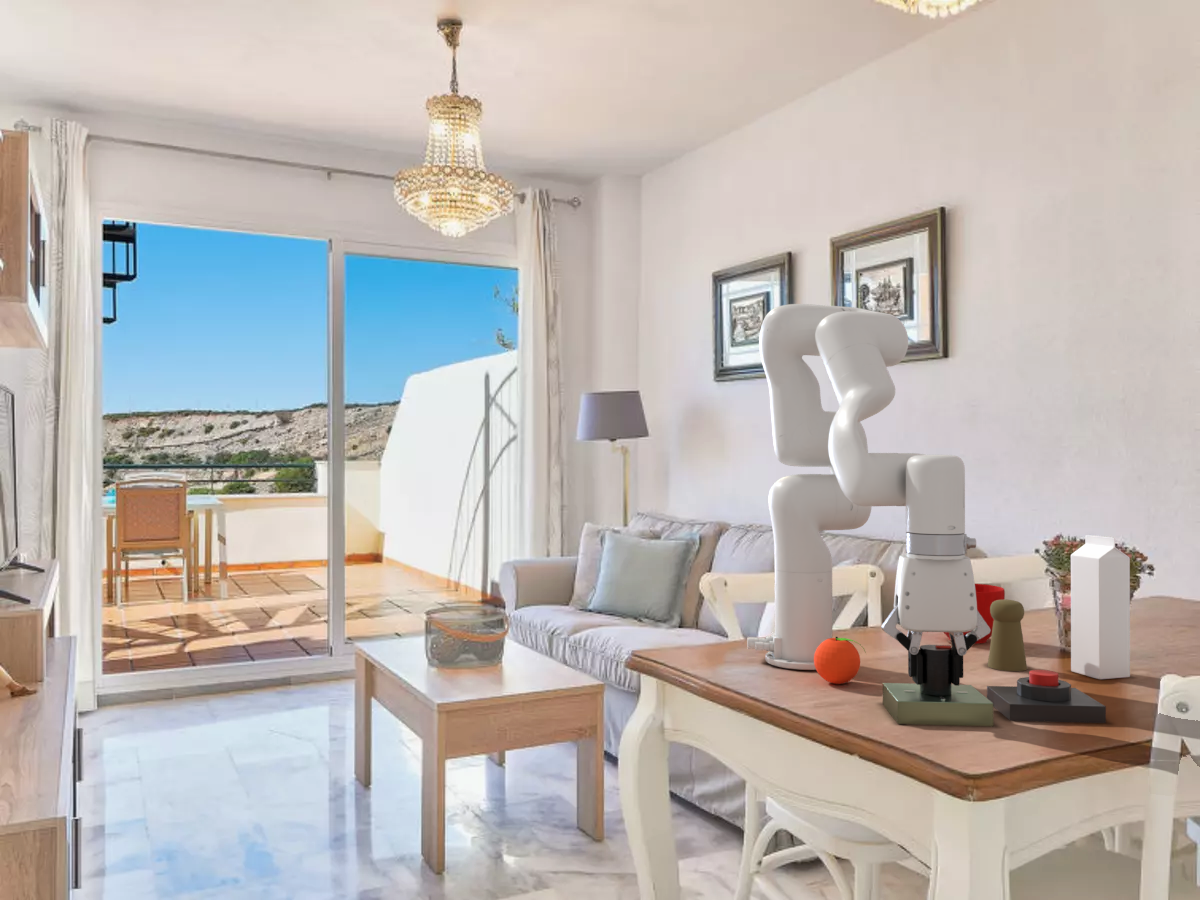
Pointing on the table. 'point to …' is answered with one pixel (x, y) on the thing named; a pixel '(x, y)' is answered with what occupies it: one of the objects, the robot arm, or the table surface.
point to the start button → (1043, 677)
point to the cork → (1007, 636)
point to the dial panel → (937, 706)
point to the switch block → (1045, 703)
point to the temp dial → (936, 670)
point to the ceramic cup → (986, 605)
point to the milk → (1100, 609)
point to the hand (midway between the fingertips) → (935, 681)
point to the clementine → (837, 660)
